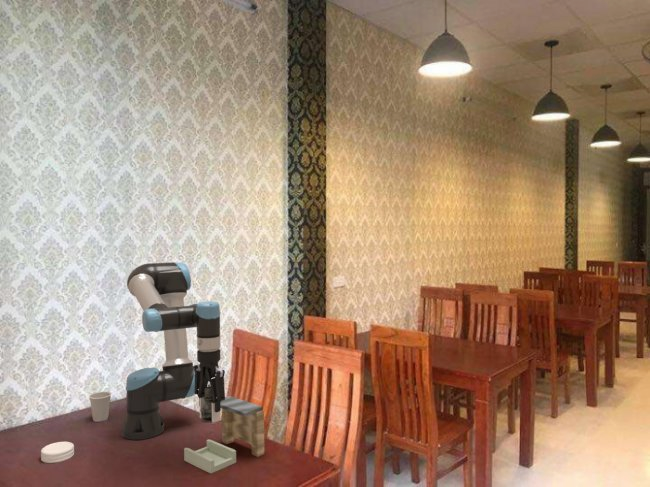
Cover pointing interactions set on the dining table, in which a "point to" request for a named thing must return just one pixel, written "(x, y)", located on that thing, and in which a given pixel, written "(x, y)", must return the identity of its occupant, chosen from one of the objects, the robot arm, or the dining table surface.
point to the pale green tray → (211, 457)
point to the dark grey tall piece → (207, 406)
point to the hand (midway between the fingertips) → (209, 418)
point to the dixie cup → (100, 405)
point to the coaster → (57, 452)
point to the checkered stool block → (243, 423)
